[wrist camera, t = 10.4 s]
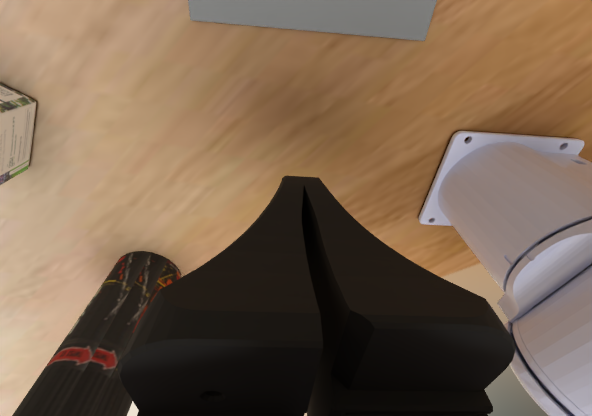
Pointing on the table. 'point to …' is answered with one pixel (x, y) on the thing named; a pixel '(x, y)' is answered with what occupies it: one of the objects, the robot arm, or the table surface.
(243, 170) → the table surface
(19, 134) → the syrup box
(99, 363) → the deodorant
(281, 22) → the mat
